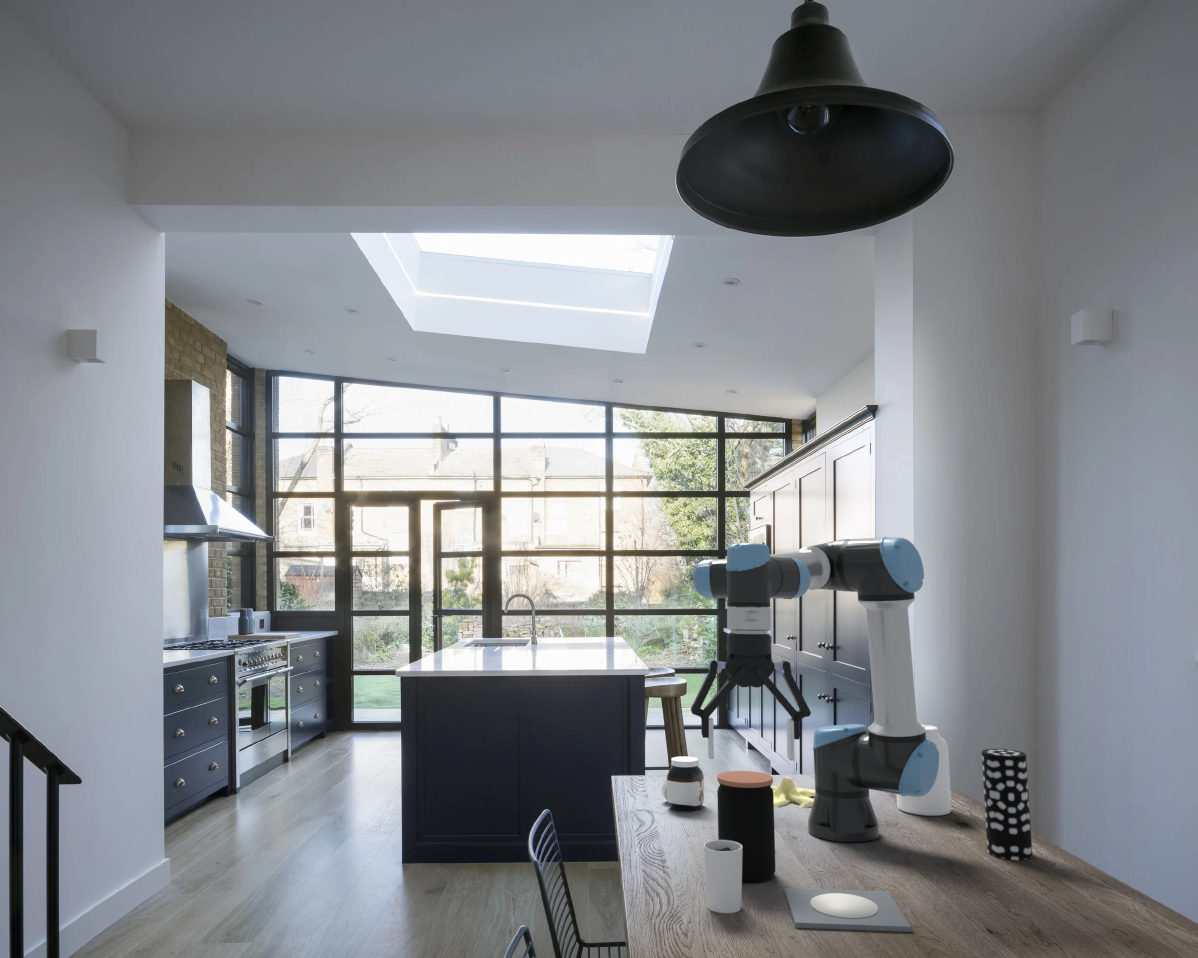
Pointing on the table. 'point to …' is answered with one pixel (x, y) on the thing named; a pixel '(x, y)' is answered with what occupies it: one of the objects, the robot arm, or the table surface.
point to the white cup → (723, 875)
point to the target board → (845, 910)
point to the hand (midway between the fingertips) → (750, 758)
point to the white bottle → (940, 793)
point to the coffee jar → (748, 820)
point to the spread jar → (684, 784)
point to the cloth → (792, 794)
